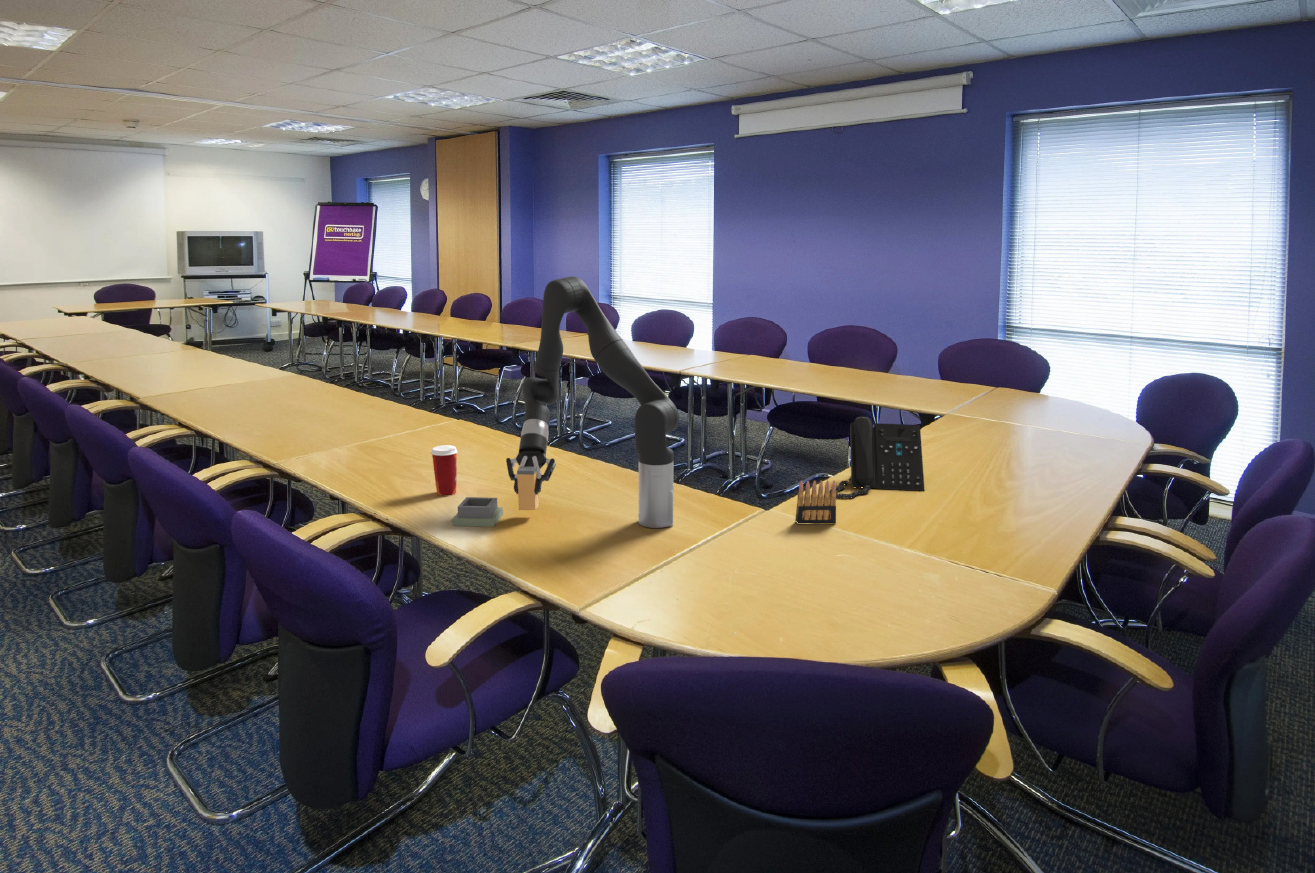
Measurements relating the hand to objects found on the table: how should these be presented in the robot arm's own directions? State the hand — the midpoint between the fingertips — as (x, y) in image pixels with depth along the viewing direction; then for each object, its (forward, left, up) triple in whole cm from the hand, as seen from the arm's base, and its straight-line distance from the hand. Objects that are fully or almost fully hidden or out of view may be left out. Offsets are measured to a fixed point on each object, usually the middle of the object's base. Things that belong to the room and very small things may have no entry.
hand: (526, 492), depth 216 cm
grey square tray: (+13, +1, -8) cm, 15 cm away
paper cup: (+29, -22, -8) cm, 37 cm away
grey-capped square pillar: (0, -2, -5) cm, 5 cm away
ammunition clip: (-78, -3, -8) cm, 78 cm away
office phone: (-101, -38, -8) cm, 108 cm away
